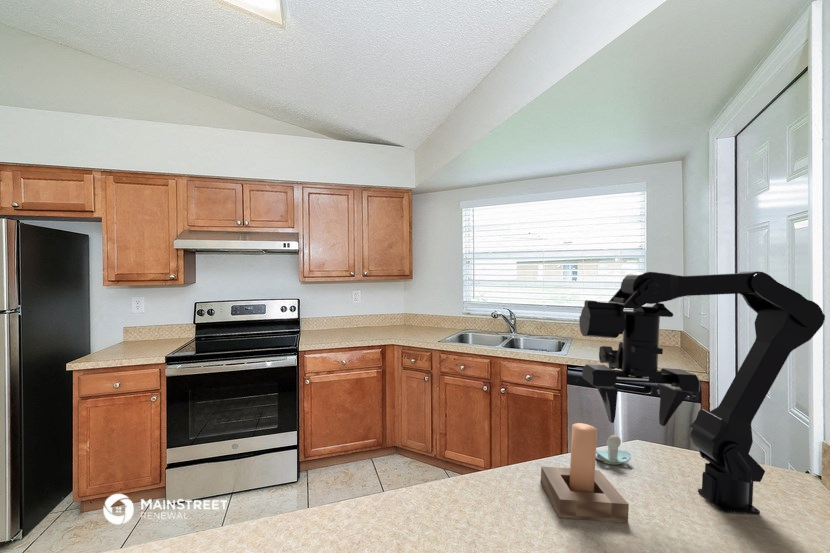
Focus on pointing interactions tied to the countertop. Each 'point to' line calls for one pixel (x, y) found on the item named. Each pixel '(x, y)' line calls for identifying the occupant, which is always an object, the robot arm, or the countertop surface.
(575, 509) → the socket block
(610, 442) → the pacifier
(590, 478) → the peg
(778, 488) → the countertop surface
